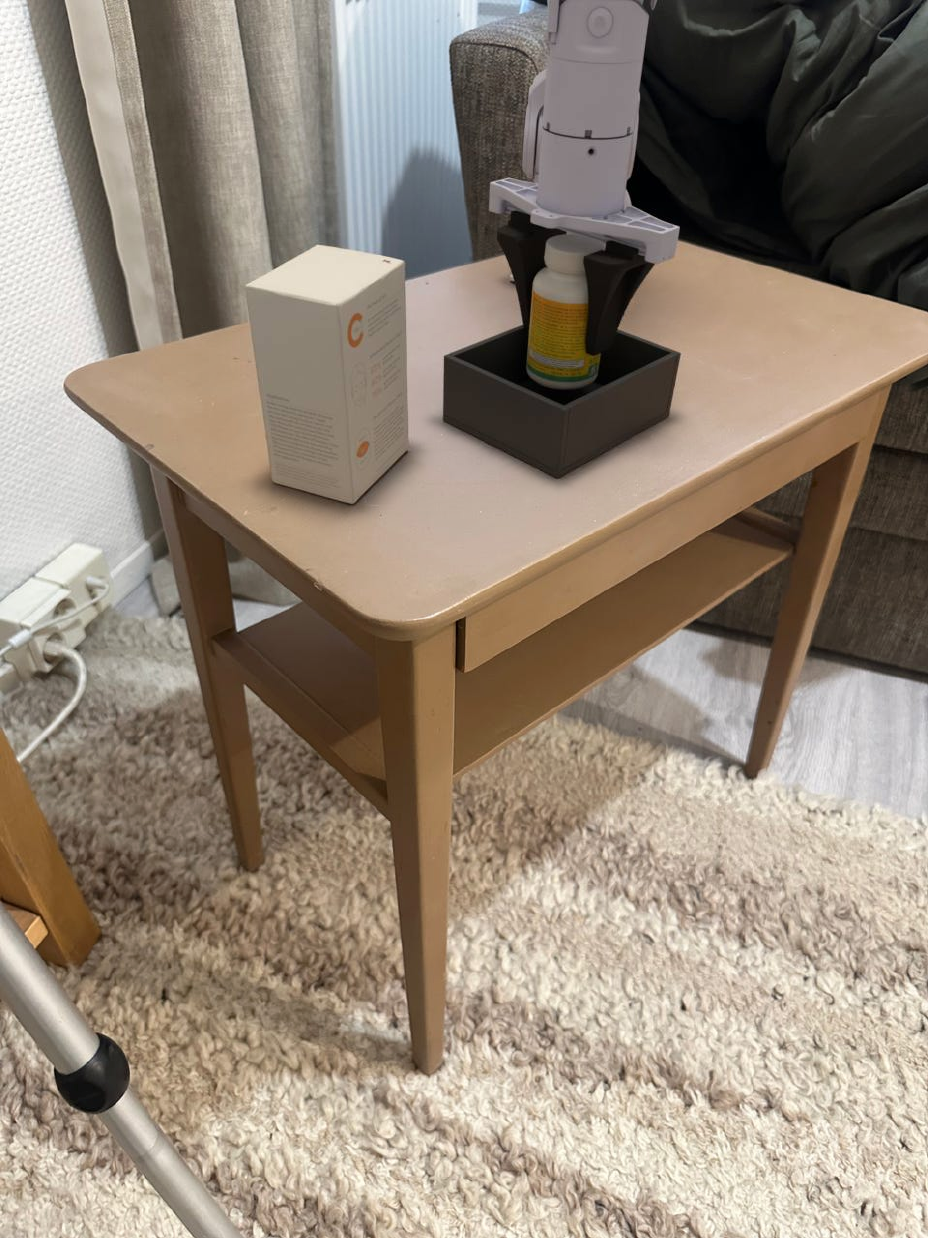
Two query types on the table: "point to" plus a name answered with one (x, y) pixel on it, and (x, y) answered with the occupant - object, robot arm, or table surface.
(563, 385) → the supplement bottle
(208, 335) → the table surface
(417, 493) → the table surface
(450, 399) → the open black bin
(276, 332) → the small box
